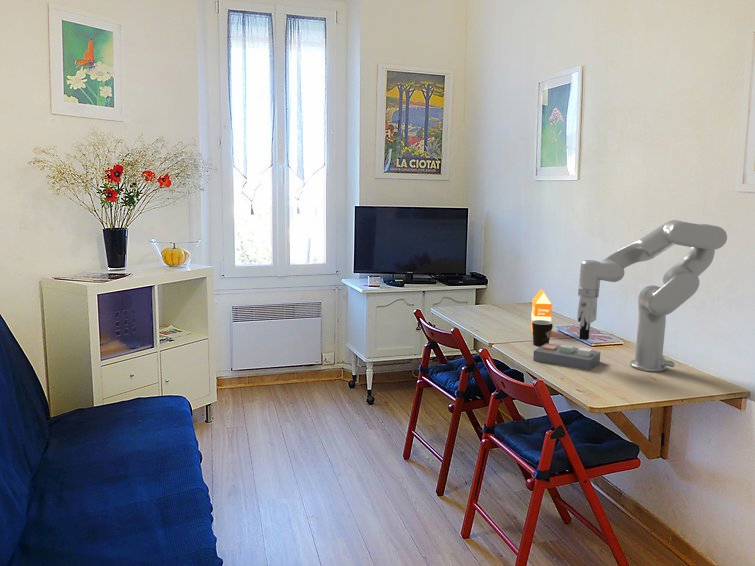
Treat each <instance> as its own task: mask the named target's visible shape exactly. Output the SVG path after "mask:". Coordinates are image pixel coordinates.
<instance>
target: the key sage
mask: <svg viewBox="0 0 755 566" xmlns="http://www.w3.org/2000/svg"><path fill="white" fill-rule="evenodd" d="M575 348H576V346H575V345H571V344H570V345H568V344H562V345H560V352H563V353H569V354H572V353H573V352H574V349H575Z"/></svg>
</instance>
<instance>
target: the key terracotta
mask: <svg viewBox="0 0 755 566" xmlns="http://www.w3.org/2000/svg"><path fill="white" fill-rule="evenodd" d="M542 349H545V350H551V351H554V350H556V349H557V346H552V345H545V346H543V348H542Z"/></svg>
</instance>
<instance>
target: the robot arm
mask: <svg viewBox="0 0 755 566" xmlns="http://www.w3.org/2000/svg"><path fill="white" fill-rule="evenodd" d="M727 240H728V234H727V232H726V230H725V229H724V228H723V227H720V226H718V225H713V224H707V223H706V224H705V223H702V224H701V223H693V222H687V221H682V220H677V219H672V220H669V221H667V222H665V223H663V224H661V225H660V226H658V227H657V228H656V229H654V230H652V231H651V232H649V233H647V234H646V235H645V236H643V237H641V238H640V239H638V240H637V241H636V240H635V241H633V242H632V243H630V244H628V245H626V246H624V247H622V248H619V249H618V250H616V251H614V252H613V253H611V254H610V255H608V256H607V257H605V258H604V259H603V260H601V261H599V260H593V259H590V260H589V259H585V260H582V261H581V263H580V270H579V279H578V281H579V282H578V290H577V292H578V293H577V296H578V297H579V301H578V308H577V317H576V319H577V322H578V323H579V337H578V338H579V340H582V341H583V340H584V341H587V340H589V338H590V329H591V325H592V324H591V323H593V322H595V321H596V320H597V314H598V313H597V312H598V299H599V298H600V297H599V296H600V285H601V281H605V282H608V283H609V282H610V283H616V282H620V281H621V280H622V279H623V278H624V276H625V273H626V272H625V269H626V268H628V267H629V266H631V265H634V264H636V263H640V262H642V263H643V262H647V261H651V260H652V259H654V258H656V257H657V256H660V255H661V254H662V253H663V252H665V251H667V250H668V249H670V248H672V247H673V246H675V245H677V246H682V247H688V248H690V249H689V251H688V252H687V253H686V255H684V256H683V258H681V259H680V260H679V261H678V262H676V264H673V266H672V267H670V268H669V269H668V270H667V271H666V272H665V273H664V275H663V278H662V282H663V285H662V286H661V287H660V286H658V285H647V286H646V287H643V289H641V291H639V294H638V301H637V302H638V303H637V304H638V305H637V307H638V320H637V321H638V322H637V332H636V343H635V356H634V359H633V360H630V363H629V365H630V366H631V367H632V368H634V369H637V370H640V371H645V372H657V373H658V372H663V371H665V370H666V369H667V367H668V368H669V367H671V368H675V366H676V365H675V362H674V361H673V360H668V359H666V358H665V355H663V354H664V344H665V335H666V334H665V333H666V324H667V321H666V316H667V315H669V314H671V313H673V312H674V311H675V310H677V309H678V308H680V307H681V306H682V305H683V304H684V303H685V302H687V301H688V300H689V299H690V298H691V297H693V296H694V295H695V294H696V292H698V290H699V287H700V278H699V276H701V274H703V273H704V272H705V271H706V270H707V269H708V268H709V267H710V266H711V264H712V263H713V260H714V257H715V252H716V250H718V249H721V248H722V247H724V246H725V244H726V243H727Z"/></svg>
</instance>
